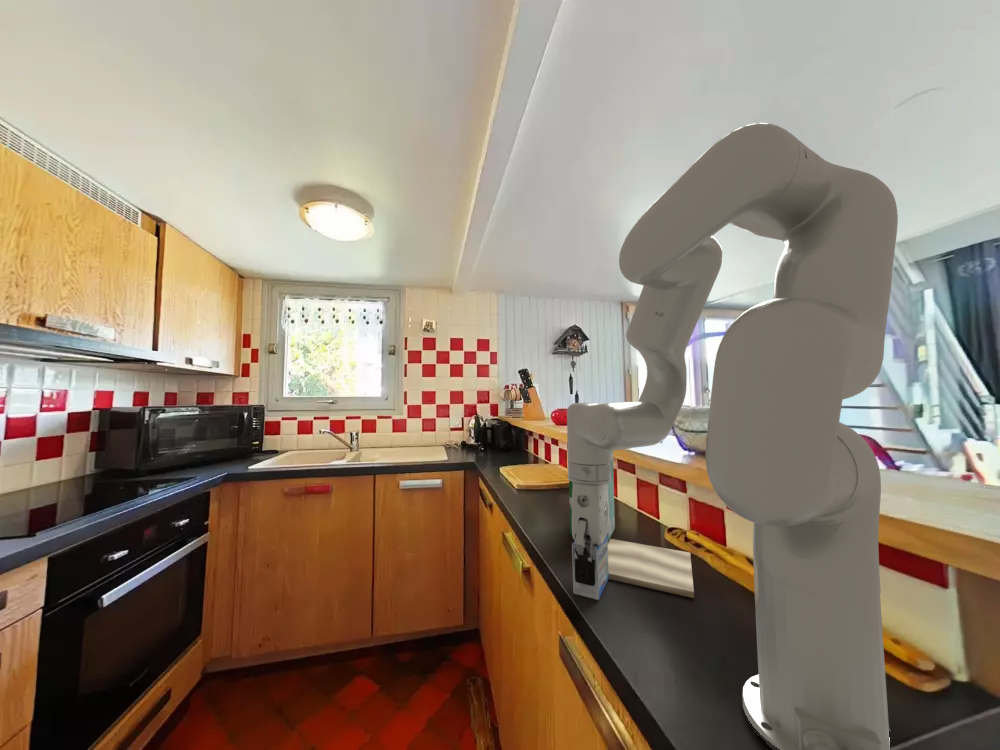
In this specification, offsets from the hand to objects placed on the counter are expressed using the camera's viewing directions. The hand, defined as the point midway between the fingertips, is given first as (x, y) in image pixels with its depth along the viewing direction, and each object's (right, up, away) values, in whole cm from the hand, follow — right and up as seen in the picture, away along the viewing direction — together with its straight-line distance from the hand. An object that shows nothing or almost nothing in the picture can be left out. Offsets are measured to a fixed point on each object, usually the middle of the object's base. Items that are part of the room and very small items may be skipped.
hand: (590, 570), depth 61 cm
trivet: (+13, -3, +7) cm, 15 cm away
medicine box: (0, -3, 0) cm, 3 cm away
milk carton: (+7, -4, +24) cm, 26 cm away
